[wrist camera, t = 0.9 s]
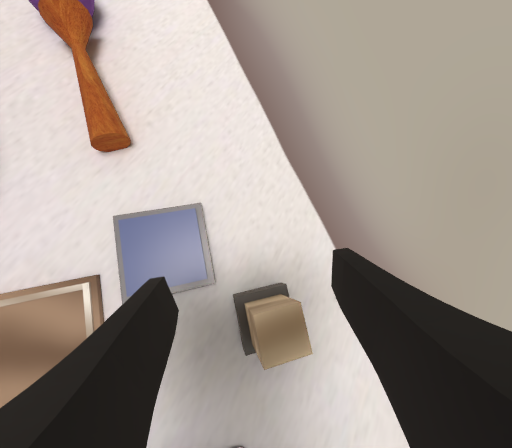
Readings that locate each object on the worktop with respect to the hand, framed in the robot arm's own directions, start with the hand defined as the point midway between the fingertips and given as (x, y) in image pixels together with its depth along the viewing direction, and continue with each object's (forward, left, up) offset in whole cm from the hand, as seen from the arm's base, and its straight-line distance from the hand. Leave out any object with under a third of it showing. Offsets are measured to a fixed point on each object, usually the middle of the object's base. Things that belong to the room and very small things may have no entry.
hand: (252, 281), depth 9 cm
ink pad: (+4, +6, -13) cm, 14 cm away
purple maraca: (+24, +11, -13) cm, 30 cm away
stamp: (-4, -2, -13) cm, 14 cm away
